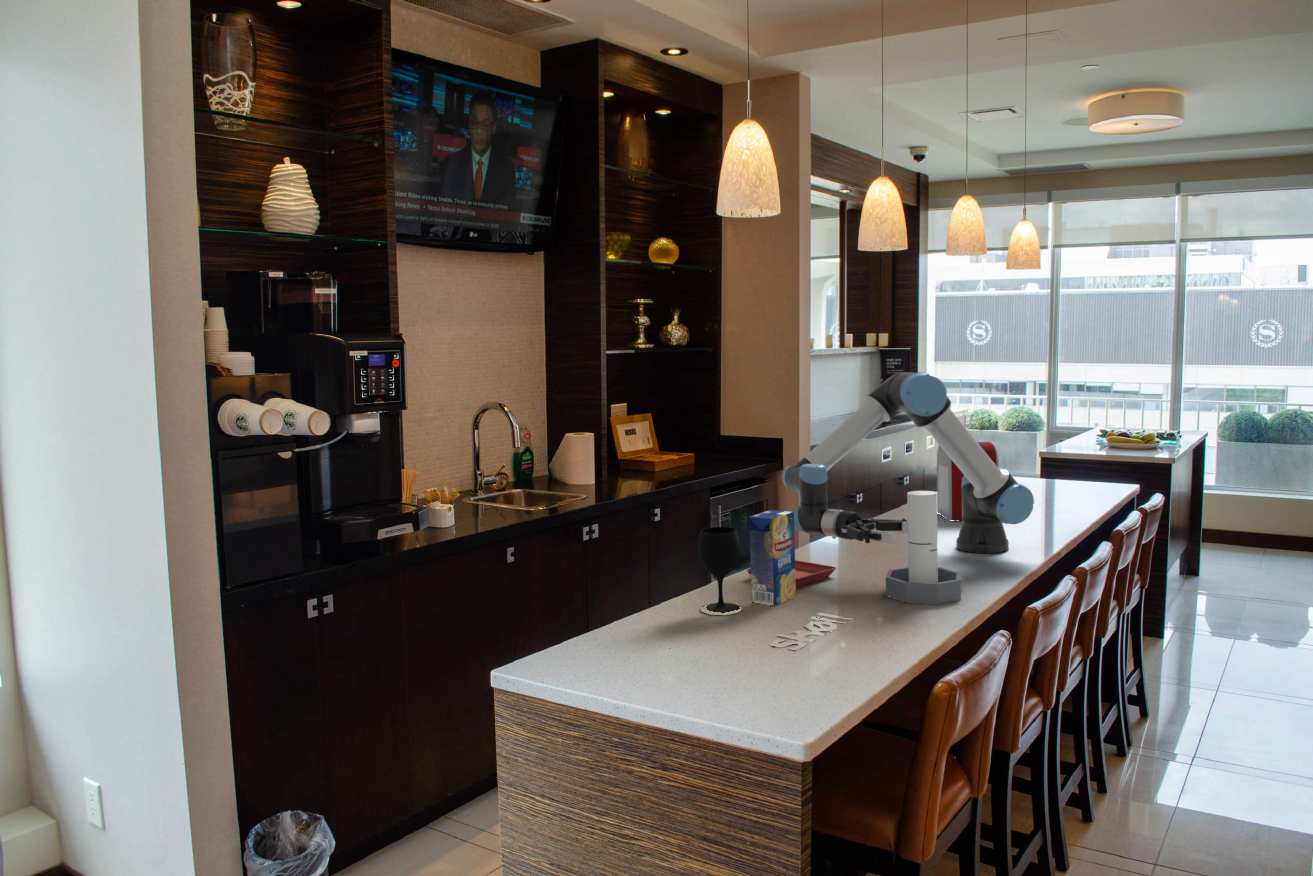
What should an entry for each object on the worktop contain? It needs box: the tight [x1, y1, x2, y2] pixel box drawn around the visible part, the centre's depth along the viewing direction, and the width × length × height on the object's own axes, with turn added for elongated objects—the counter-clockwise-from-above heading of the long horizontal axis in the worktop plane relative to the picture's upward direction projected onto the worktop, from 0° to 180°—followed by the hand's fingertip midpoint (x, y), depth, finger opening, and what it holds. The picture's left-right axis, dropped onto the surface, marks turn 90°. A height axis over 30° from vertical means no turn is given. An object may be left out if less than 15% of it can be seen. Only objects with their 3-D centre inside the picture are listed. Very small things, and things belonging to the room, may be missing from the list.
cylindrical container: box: [906, 490, 939, 583], centre depth 245 cm, size 7×7×25 cm
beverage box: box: [748, 509, 797, 606], centre depth 245 cm, size 7×11×22 cm, turn 144°
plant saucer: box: [746, 559, 837, 588], centre depth 268 cm, size 18×18×3 cm
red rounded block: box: [936, 440, 1000, 521], centre depth 346 cm, size 16×18×27 cm
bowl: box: [885, 566, 962, 605], centre depth 246 cm, size 18×18×5 cm
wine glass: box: [697, 526, 741, 613], centre depth 238 cm, size 10×10×20 cm
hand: (909, 533), depth 247 cm, fingers open, 13 cm apart
